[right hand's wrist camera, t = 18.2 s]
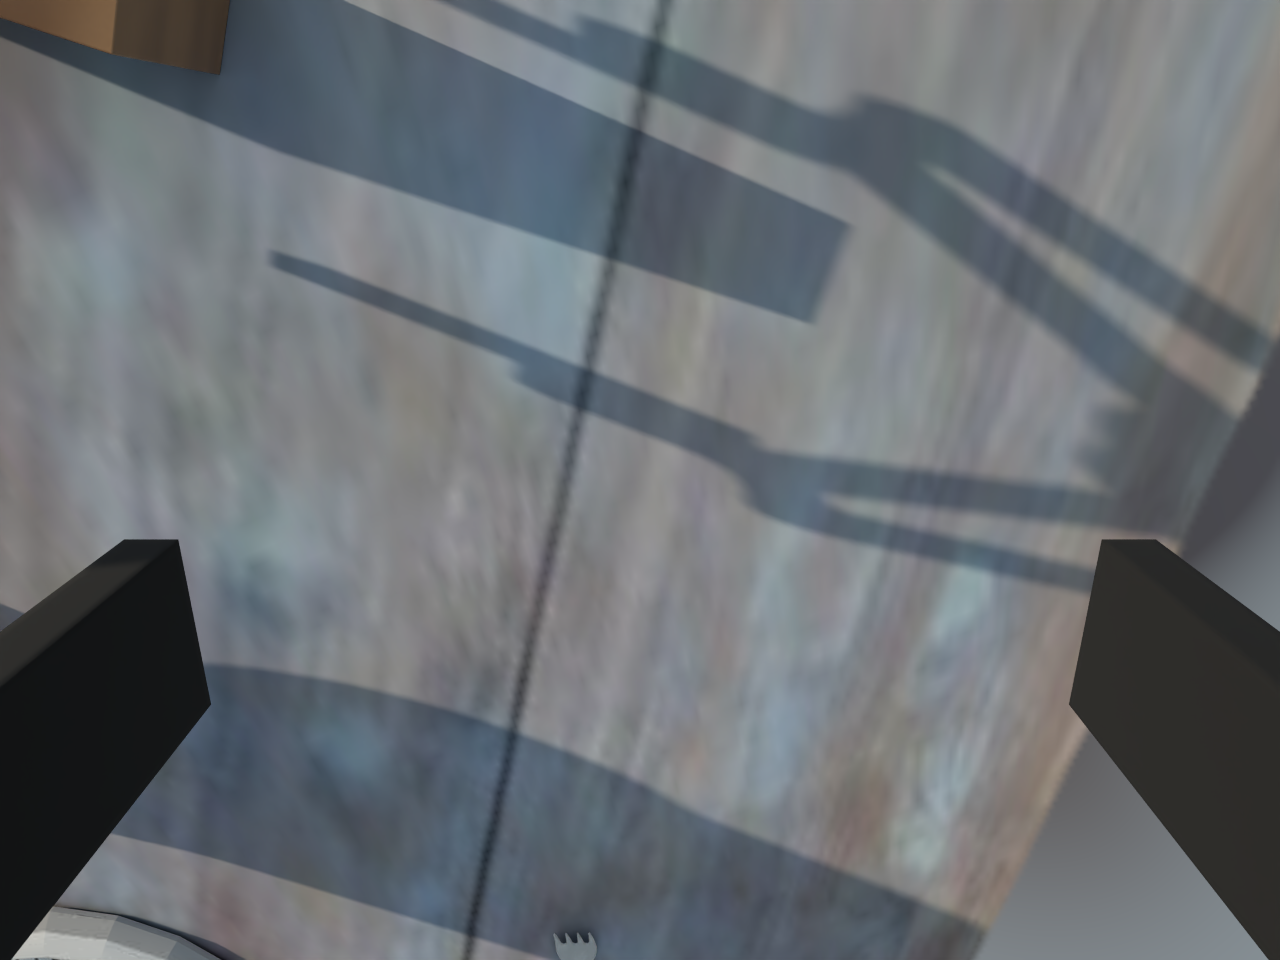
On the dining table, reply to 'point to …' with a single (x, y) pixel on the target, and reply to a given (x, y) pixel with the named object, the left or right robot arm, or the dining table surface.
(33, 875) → the right robot arm
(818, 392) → the dining table surface
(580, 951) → the fork
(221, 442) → the dining table surface
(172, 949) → the wall clock
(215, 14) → the bar
